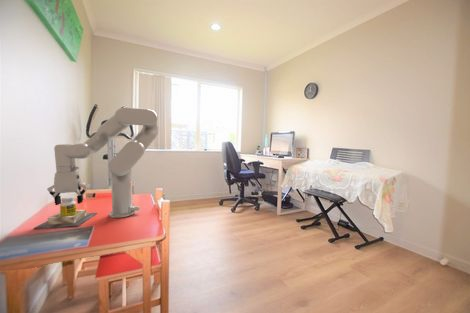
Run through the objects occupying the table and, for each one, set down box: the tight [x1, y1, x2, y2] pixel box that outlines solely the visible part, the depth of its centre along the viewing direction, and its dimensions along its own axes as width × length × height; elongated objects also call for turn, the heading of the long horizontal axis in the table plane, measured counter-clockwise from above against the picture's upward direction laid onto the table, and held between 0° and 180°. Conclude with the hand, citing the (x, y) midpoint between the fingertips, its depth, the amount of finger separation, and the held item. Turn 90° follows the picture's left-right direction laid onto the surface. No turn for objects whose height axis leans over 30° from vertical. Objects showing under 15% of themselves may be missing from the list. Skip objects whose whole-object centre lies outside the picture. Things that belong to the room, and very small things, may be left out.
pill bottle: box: [59, 196, 77, 217], centre depth 103 cm, size 6×6×11 cm
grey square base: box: [33, 209, 98, 230], centre depth 104 cm, size 18×18×4 cm
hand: (69, 203), depth 104 cm, fingers open, 9 cm apart
